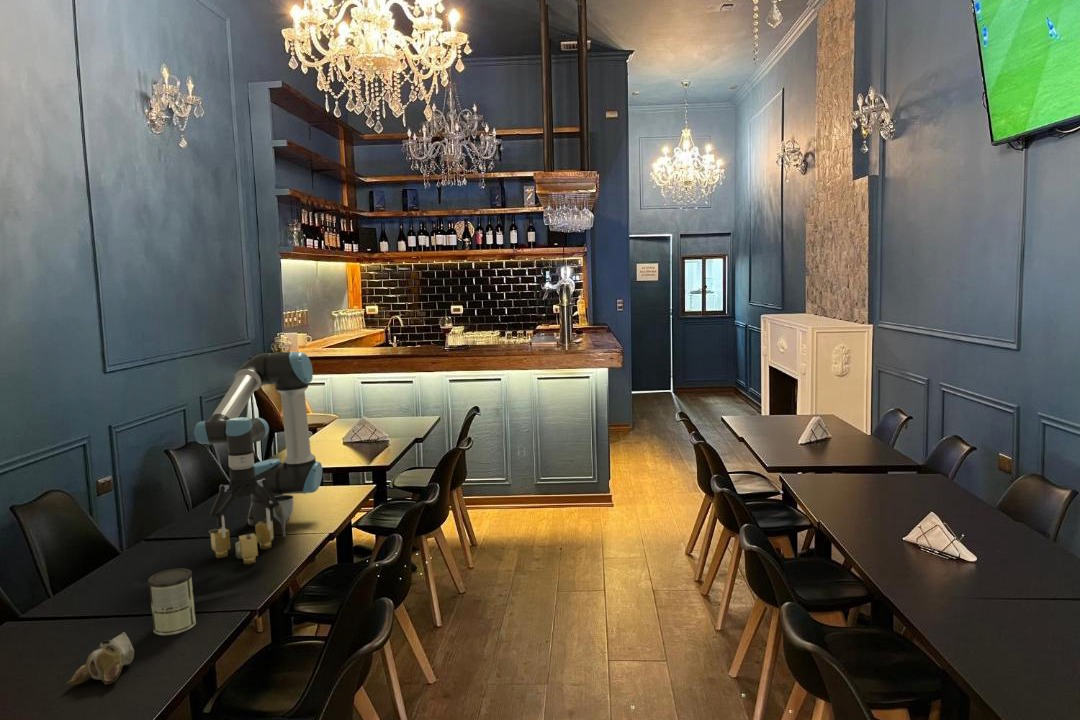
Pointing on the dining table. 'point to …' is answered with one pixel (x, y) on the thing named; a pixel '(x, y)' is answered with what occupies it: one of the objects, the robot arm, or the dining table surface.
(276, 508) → the grey funnel
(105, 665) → the ceramic sculpture
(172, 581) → the coffee can
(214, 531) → the knob
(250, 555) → the knob
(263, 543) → the knob
